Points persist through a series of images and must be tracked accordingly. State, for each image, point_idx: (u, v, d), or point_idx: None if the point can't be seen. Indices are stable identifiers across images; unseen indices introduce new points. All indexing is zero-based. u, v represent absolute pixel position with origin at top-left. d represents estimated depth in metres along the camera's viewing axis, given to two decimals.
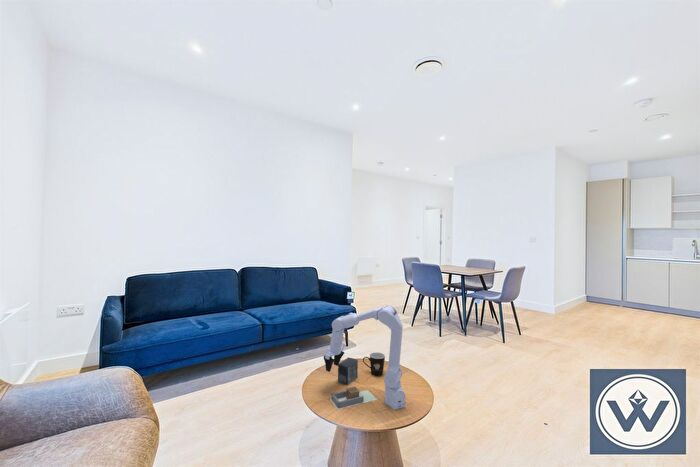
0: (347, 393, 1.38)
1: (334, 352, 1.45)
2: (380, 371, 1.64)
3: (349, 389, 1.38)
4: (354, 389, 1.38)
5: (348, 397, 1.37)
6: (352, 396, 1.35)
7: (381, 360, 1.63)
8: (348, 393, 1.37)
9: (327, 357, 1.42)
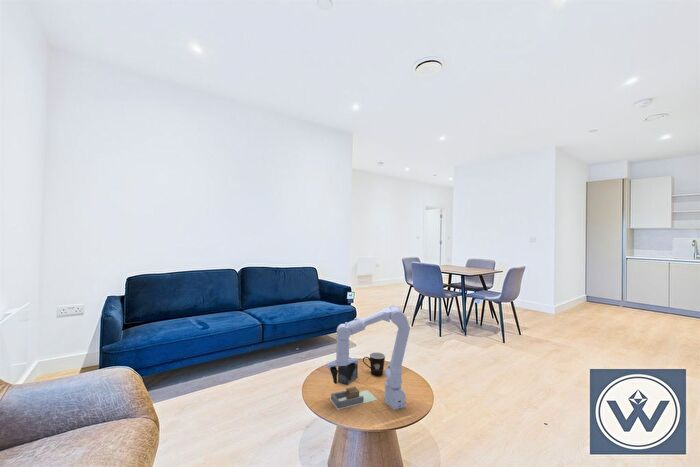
0: (347, 393, 1.38)
1: (338, 362, 1.33)
2: (380, 371, 1.64)
3: (349, 389, 1.38)
4: (354, 389, 1.38)
5: (348, 397, 1.37)
6: (352, 396, 1.35)
7: (381, 360, 1.63)
8: (348, 393, 1.37)
9: (327, 366, 1.32)
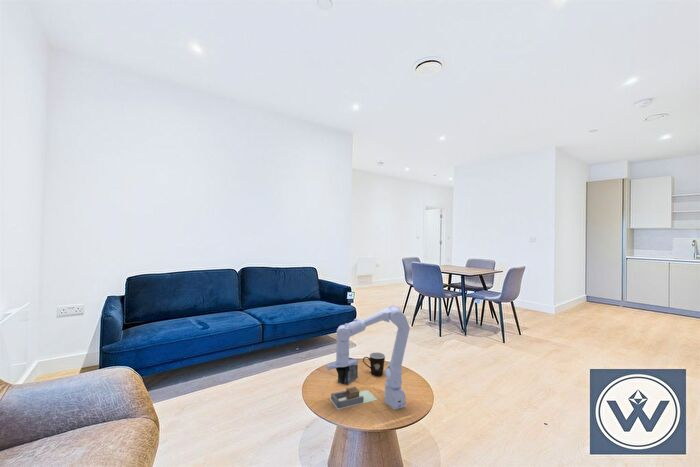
0: (347, 393, 1.38)
1: (338, 364, 1.33)
2: (380, 371, 1.64)
3: (349, 389, 1.38)
4: (354, 389, 1.38)
5: (348, 397, 1.37)
6: (352, 396, 1.35)
7: (381, 360, 1.63)
8: (348, 393, 1.37)
9: (327, 367, 1.32)
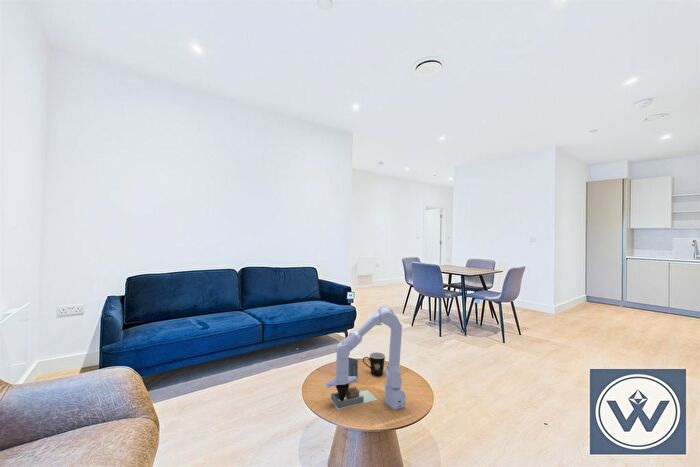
0: (347, 393, 1.38)
1: (337, 381, 1.33)
2: (380, 371, 1.64)
3: (349, 389, 1.38)
4: (354, 389, 1.38)
5: (348, 397, 1.37)
6: (352, 396, 1.35)
7: (381, 360, 1.63)
8: (348, 393, 1.37)
9: (327, 385, 1.32)
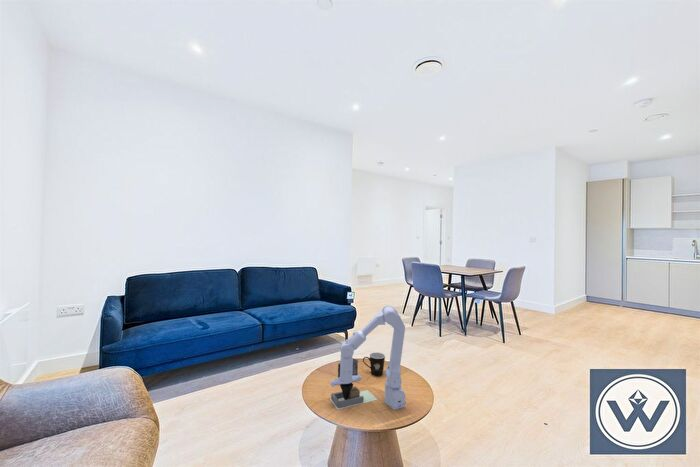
0: None
1: (342, 380, 1.34)
2: (380, 371, 1.64)
3: None
4: (354, 389, 1.38)
5: (348, 397, 1.37)
6: (352, 396, 1.36)
7: (381, 360, 1.63)
8: None
9: (331, 384, 1.33)
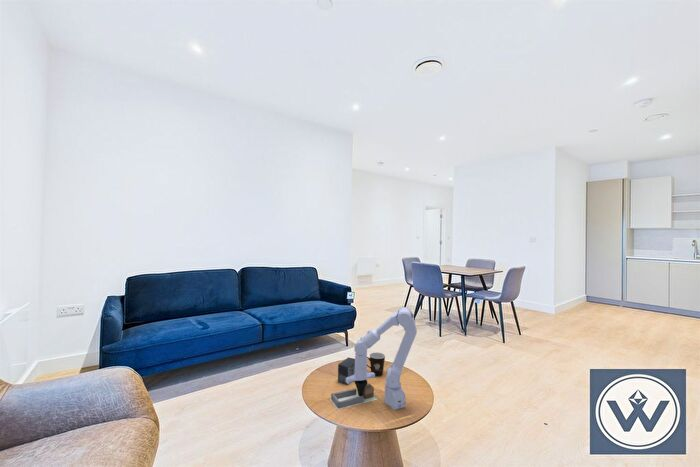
0: None
1: (356, 377, 1.38)
2: (380, 371, 1.64)
3: None
4: (368, 385, 1.42)
5: None
6: (367, 392, 1.39)
7: (381, 360, 1.63)
8: None
9: (346, 381, 1.36)
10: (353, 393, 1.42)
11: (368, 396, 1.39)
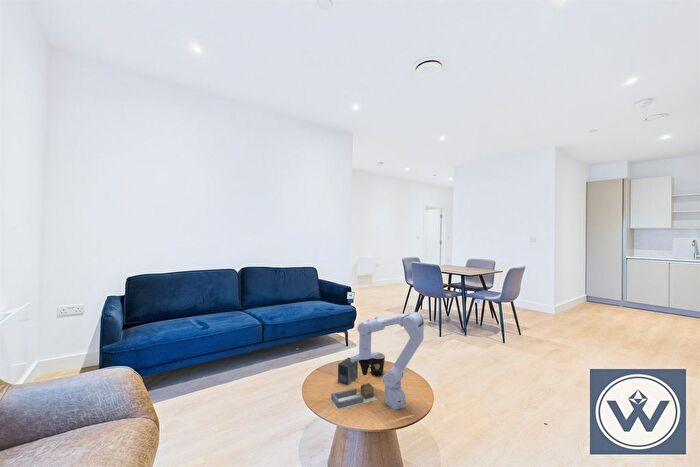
0: (362, 390, 1.41)
1: (361, 356, 1.43)
2: (380, 371, 1.64)
3: (363, 386, 1.42)
4: (368, 386, 1.42)
5: (362, 393, 1.41)
6: (367, 392, 1.39)
7: (381, 360, 1.63)
8: (363, 389, 1.40)
9: (351, 360, 1.42)
10: (353, 393, 1.42)
11: (368, 396, 1.39)
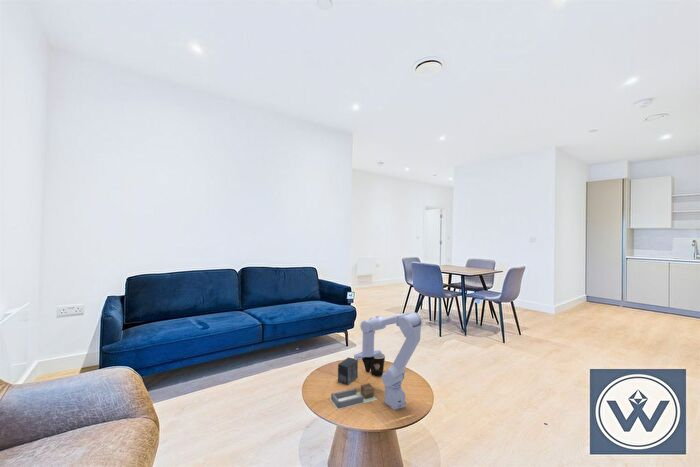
0: (362, 390, 1.41)
1: (364, 354, 1.46)
2: (380, 371, 1.64)
3: (363, 386, 1.42)
4: (368, 386, 1.42)
5: (362, 393, 1.41)
6: (367, 392, 1.39)
7: (381, 360, 1.63)
8: (363, 389, 1.40)
9: (355, 357, 1.45)
10: (353, 393, 1.42)
11: (368, 396, 1.39)
